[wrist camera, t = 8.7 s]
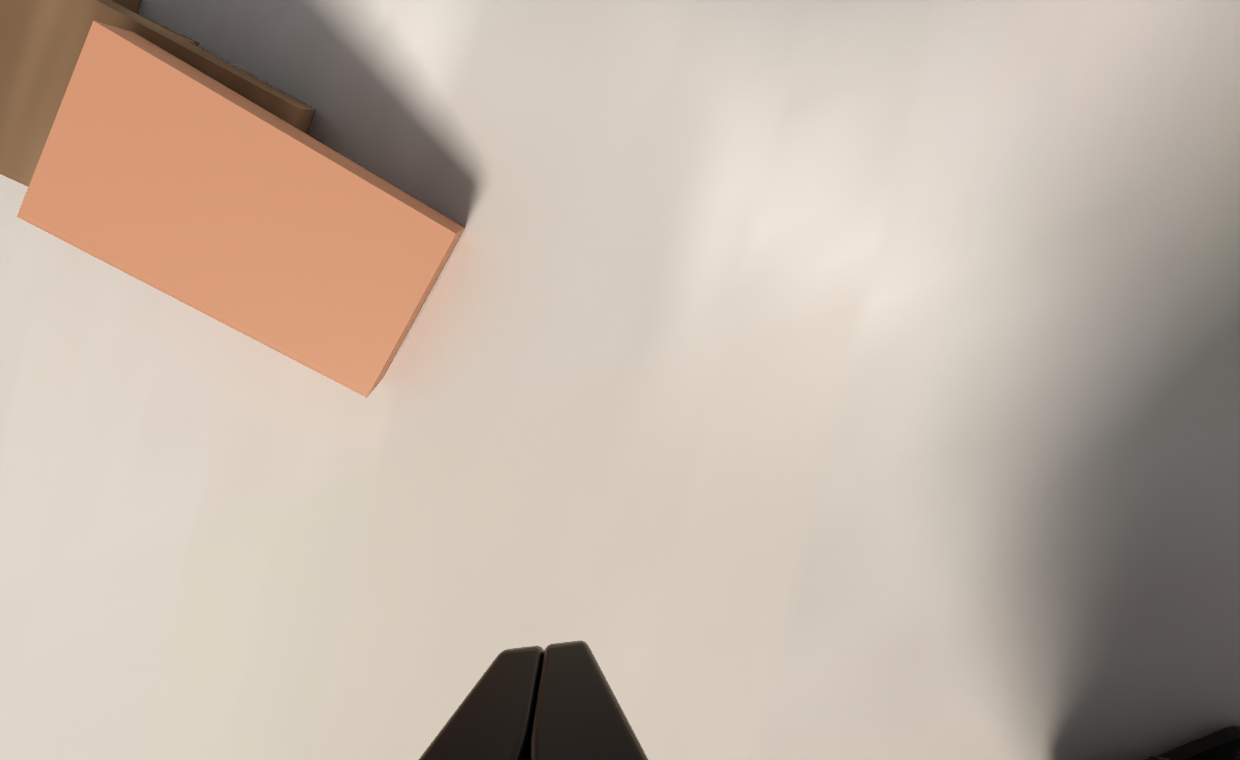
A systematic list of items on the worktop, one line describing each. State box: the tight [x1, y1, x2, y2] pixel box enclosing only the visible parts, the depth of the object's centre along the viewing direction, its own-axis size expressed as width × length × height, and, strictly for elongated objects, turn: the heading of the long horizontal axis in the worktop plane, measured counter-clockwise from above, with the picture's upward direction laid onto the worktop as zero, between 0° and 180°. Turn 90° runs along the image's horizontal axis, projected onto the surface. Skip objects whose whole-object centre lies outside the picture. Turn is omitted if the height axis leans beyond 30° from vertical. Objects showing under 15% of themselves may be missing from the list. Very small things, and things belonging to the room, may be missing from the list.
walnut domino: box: [0, 0, 316, 187], centre depth 18 cm, size 2×5×9 cm
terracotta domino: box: [17, 21, 465, 397], centre depth 18 cm, size 2×5×9 cm
